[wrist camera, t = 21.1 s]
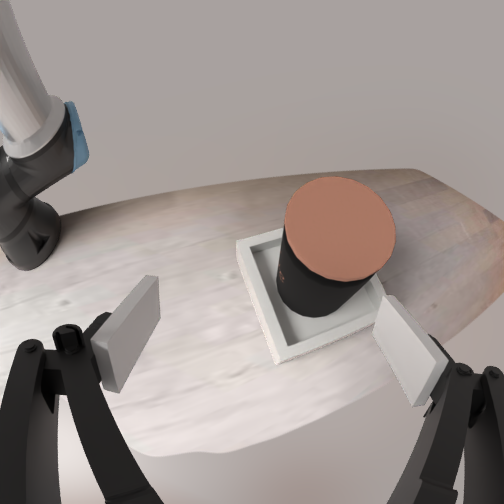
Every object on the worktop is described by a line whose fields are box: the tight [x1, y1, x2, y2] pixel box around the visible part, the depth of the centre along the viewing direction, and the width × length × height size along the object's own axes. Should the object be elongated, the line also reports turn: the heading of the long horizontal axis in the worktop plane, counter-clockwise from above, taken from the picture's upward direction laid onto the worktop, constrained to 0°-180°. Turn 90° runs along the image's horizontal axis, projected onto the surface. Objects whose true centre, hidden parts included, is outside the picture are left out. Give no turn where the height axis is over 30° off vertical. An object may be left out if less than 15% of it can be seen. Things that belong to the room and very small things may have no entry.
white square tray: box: [236, 228, 387, 365], centre depth 42 cm, size 18×18×6 cm
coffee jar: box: [276, 176, 396, 318], centre depth 33 cm, size 11×11×18 cm
